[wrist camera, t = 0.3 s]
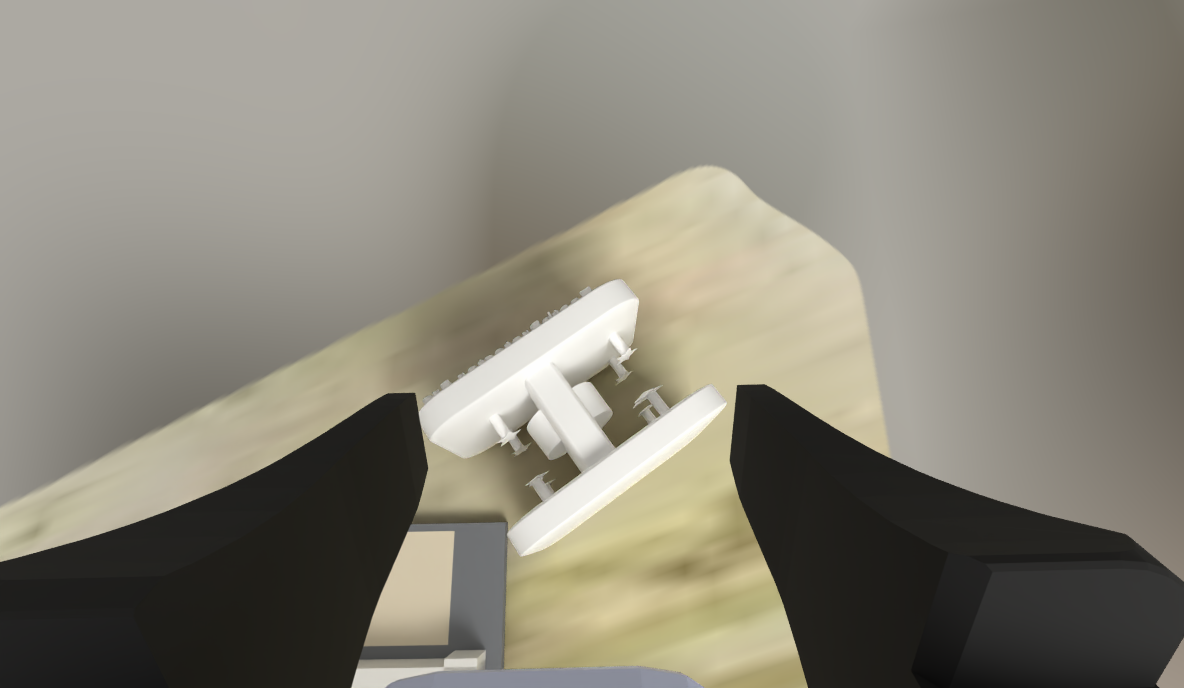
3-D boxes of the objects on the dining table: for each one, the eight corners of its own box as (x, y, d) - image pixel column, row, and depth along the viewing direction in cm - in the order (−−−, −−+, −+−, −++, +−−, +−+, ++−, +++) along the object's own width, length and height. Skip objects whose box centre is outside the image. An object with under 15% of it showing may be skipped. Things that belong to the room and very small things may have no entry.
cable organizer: (532, 561, 38) (503, 573, 27) (454, 437, 41) (399, 403, 30) (701, 435, 41) (737, 400, 30) (616, 326, 44) (620, 258, 33)
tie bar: (484, 692, 35) (475, 704, 32) (295, 695, 35) (273, 707, 33) (485, 649, 36) (477, 658, 33) (301, 652, 36) (279, 661, 33)
